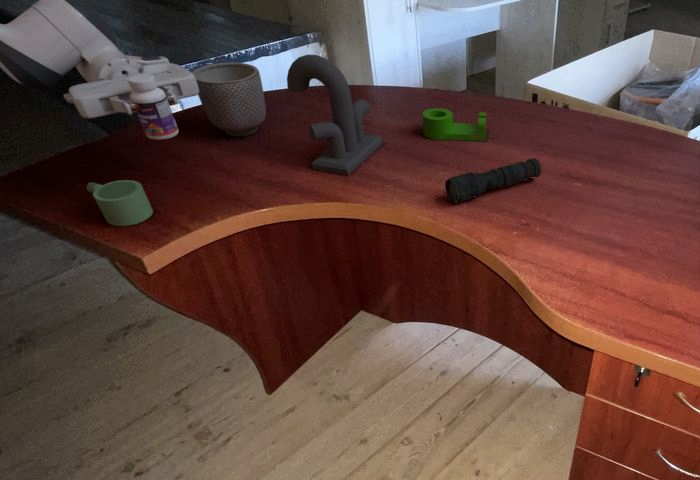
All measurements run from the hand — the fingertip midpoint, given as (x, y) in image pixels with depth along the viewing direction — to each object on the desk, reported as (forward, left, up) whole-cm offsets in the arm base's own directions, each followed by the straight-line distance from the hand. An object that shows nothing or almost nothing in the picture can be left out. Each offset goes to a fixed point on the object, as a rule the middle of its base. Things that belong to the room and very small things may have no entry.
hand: (153, 104), depth 93 cm
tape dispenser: (+59, +14, -17) cm, 63 cm away
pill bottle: (0, +1, -6) cm, 6 cm away
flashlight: (+59, -15, -17) cm, 63 cm away
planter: (+11, +28, -17) cm, 34 cm away
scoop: (-11, -5, -17) cm, 21 cm away
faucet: (+30, +11, -17) cm, 36 cm away
